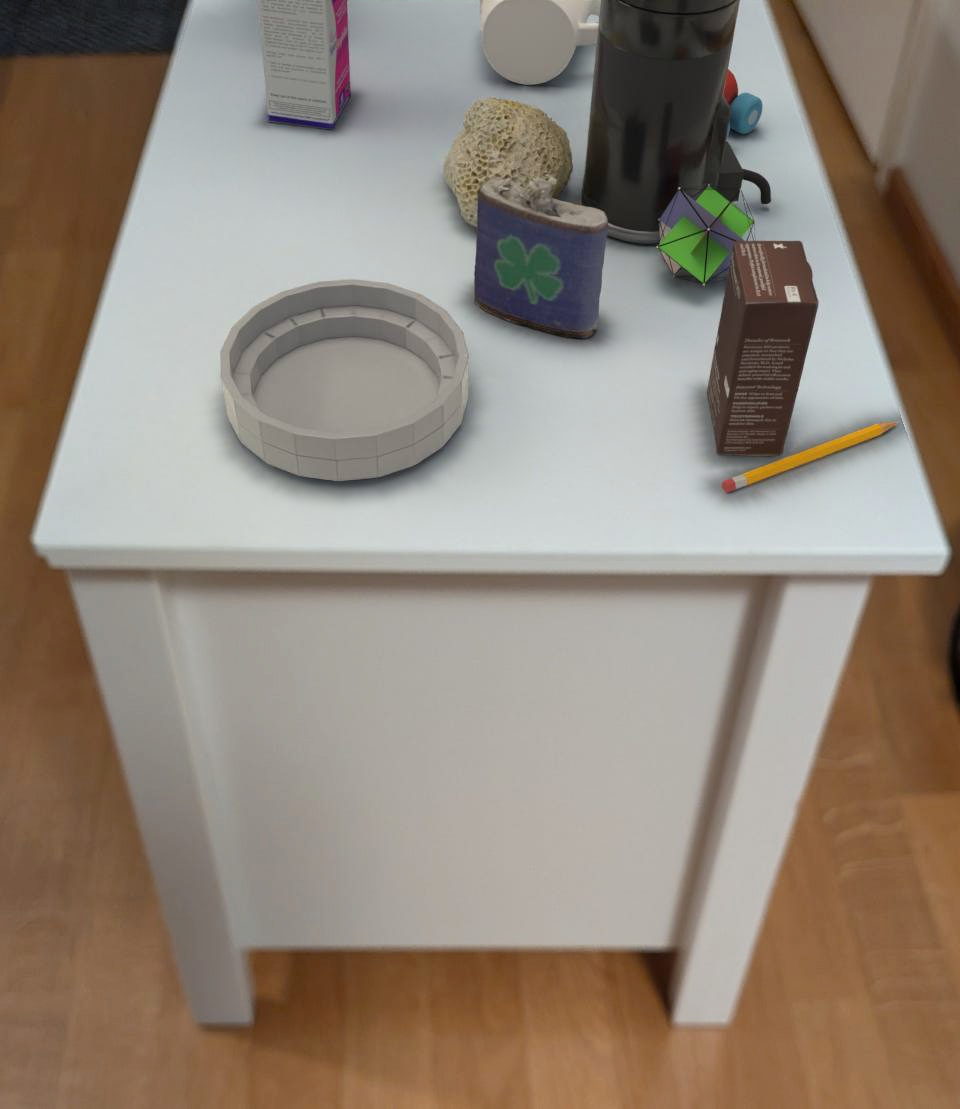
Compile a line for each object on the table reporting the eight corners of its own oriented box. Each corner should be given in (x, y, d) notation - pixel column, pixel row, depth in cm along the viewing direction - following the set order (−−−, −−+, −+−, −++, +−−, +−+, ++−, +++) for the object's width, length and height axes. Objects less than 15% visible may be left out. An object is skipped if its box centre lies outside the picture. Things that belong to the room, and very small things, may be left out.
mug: (470, 81, 108) (472, -12, 102) (483, 30, 114) (485, -59, 109) (609, 92, 108) (619, 0, 102) (614, 41, 114) (624, -49, 108)
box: (700, 394, 82) (731, 236, 73) (769, 395, 82) (809, 238, 73) (710, 458, 78) (745, 300, 69) (783, 460, 78) (827, 302, 69)
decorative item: (618, 185, 90) (498, 147, 86) (558, 273, 96) (443, 242, 92) (579, 83, 97) (465, 43, 92) (525, 171, 103) (416, 138, 98)
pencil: (725, 479, 75) (730, 490, 75) (900, 414, 80) (905, 424, 80) (720, 483, 76) (725, 493, 76) (893, 418, 80) (898, 428, 80)
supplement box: (335, 131, 102) (325, -9, 94) (266, 122, 103) (249, -18, 95) (354, 96, 106) (346, -42, 98) (287, 88, 107) (273, -50, 98)
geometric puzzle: (687, 170, 82) (620, 262, 87) (769, 235, 82) (697, 323, 87) (715, 145, 88) (650, 232, 93) (791, 206, 88) (722, 290, 93)
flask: (602, 323, 86) (617, 186, 78) (585, 347, 85) (598, 210, 77) (483, 284, 89) (486, 148, 81) (464, 307, 87) (465, 170, 79)
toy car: (765, 125, 104) (789, 7, 97) (700, 165, 100) (720, 44, 93) (679, 85, 109) (696, -31, 101) (613, 121, 104) (625, 3, 97)
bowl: (449, 319, 86) (449, 271, 83) (483, 473, 76) (484, 425, 73) (226, 337, 85) (218, 288, 82) (231, 497, 75) (222, 449, 72)
